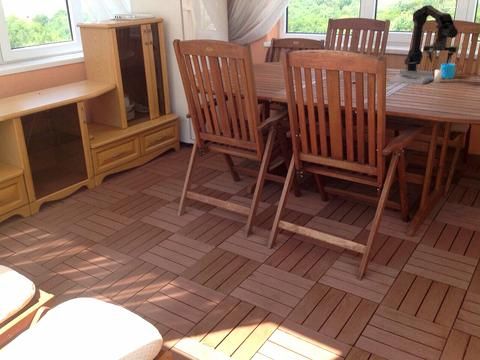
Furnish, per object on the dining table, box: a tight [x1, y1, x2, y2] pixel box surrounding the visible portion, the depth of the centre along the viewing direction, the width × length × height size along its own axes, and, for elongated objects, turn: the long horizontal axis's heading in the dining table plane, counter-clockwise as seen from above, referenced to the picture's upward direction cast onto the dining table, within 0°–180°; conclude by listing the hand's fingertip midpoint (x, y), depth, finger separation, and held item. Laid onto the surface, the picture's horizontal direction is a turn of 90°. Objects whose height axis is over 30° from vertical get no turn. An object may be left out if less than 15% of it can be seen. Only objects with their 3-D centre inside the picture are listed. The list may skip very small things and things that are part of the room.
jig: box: [390, 69, 434, 85], centre depth 306 cm, size 16×20×4 cm
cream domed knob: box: [433, 69, 443, 83], centre depth 299 cm, size 4×4×7 cm
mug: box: [439, 62, 456, 79], centre depth 309 cm, size 12×8×8 cm
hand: (439, 63), depth 297 cm, fingers open, 9 cm apart
